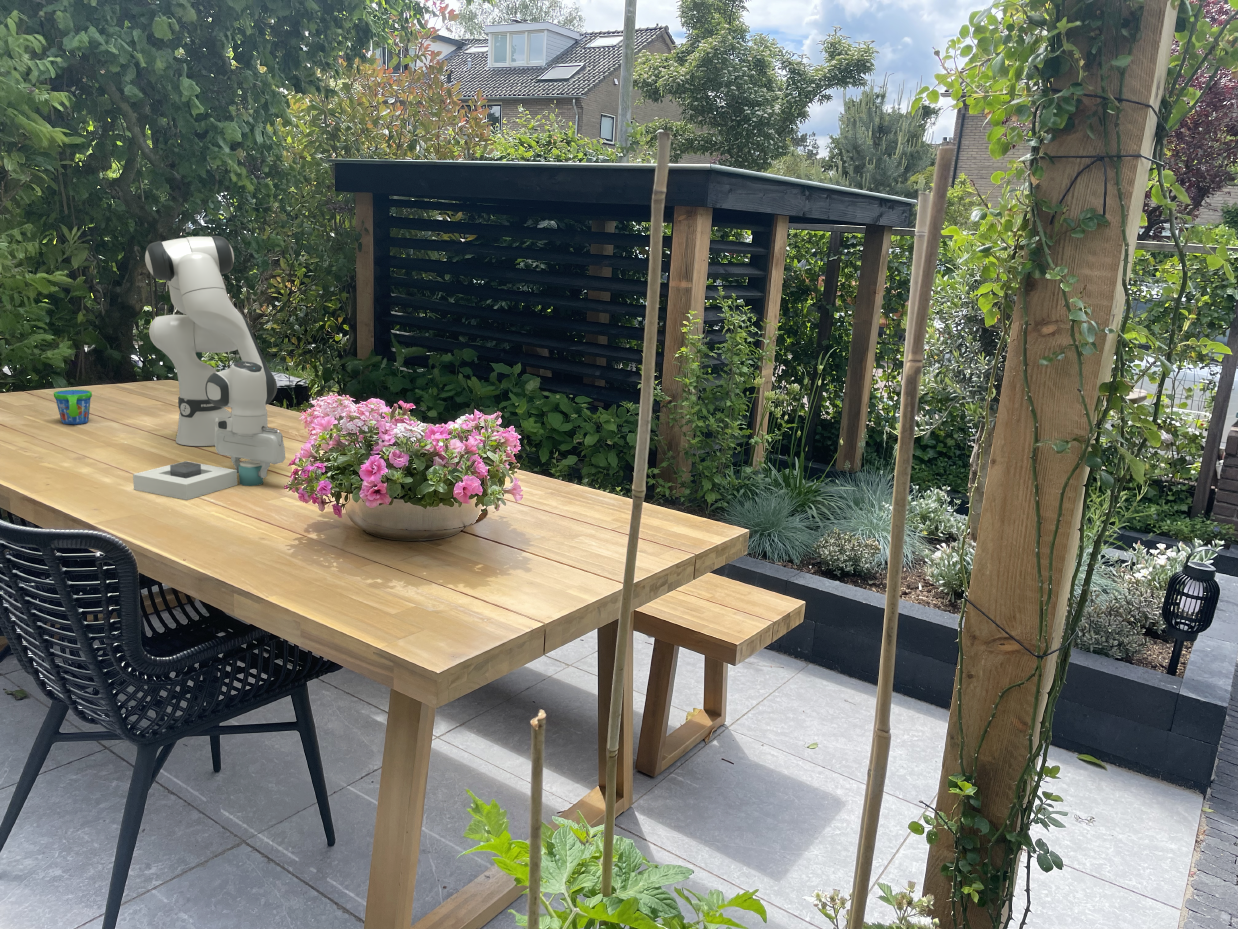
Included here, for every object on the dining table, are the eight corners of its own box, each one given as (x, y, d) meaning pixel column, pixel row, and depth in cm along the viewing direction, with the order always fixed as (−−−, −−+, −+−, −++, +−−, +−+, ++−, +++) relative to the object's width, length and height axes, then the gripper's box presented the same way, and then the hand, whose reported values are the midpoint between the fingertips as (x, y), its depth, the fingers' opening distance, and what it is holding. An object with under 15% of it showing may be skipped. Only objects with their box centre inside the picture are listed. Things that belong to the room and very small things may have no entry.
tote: (186, 475, 239) (186, 460, 238) (237, 484, 234) (236, 470, 233) (133, 489, 224) (132, 474, 223) (186, 500, 218) (186, 484, 217)
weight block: (186, 479, 232) (185, 461, 231) (201, 482, 230) (200, 464, 229) (171, 484, 227) (170, 465, 226) (186, 487, 226) (185, 468, 224)
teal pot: (250, 478, 241) (249, 458, 239) (268, 482, 239) (267, 462, 237) (234, 483, 235) (233, 463, 234) (252, 487, 233) (251, 466, 232)
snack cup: (60, 418, 293) (57, 387, 291) (96, 417, 298) (94, 387, 295) (52, 428, 280) (49, 396, 277) (90, 427, 284) (88, 396, 281)
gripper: (290, 427, 233) (291, 478, 236) (227, 417, 239) (229, 467, 242) (273, 431, 227) (274, 483, 230) (210, 421, 233) (212, 471, 236)
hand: (251, 475), depth 236 cm, fingers closed on teal pot, 6 cm apart
